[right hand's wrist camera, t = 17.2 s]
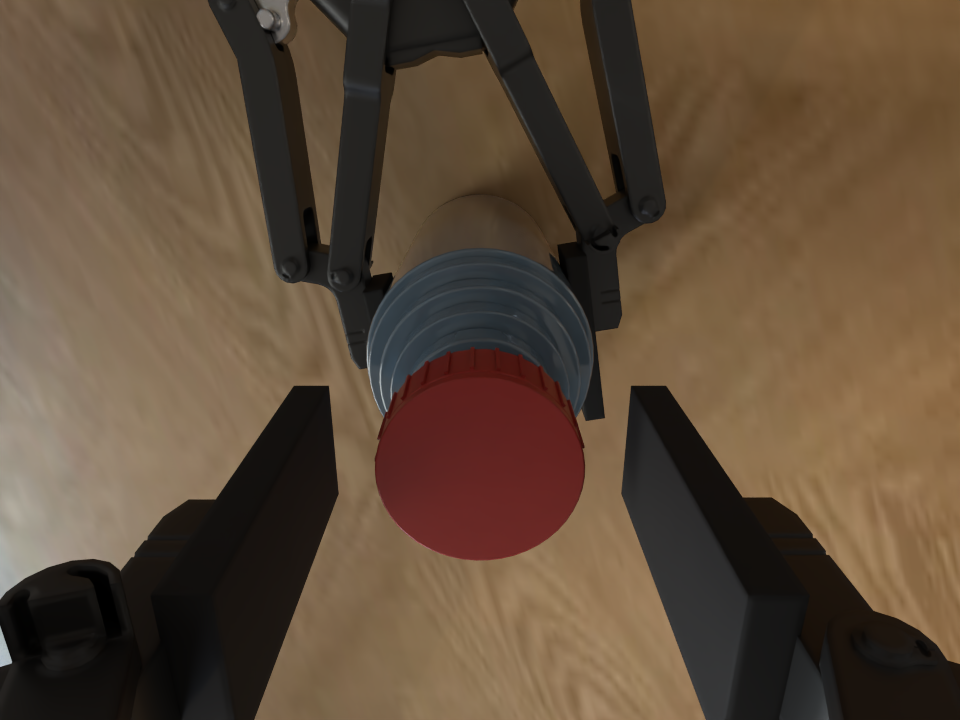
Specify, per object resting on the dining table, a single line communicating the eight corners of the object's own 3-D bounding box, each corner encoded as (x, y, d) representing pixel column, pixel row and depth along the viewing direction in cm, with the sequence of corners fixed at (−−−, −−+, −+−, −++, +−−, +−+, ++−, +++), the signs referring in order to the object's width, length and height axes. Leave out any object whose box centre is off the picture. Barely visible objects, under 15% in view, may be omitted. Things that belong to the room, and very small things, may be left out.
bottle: (526, 345, 33) (581, 617, 15) (397, 312, 32) (294, 555, 14) (567, 215, 30) (689, 355, 13) (428, 177, 30) (353, 268, 12)
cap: (596, 362, 14) (610, 393, 12) (553, 529, 16) (562, 576, 14) (396, 329, 14) (385, 357, 12) (373, 503, 15) (361, 548, 14)
